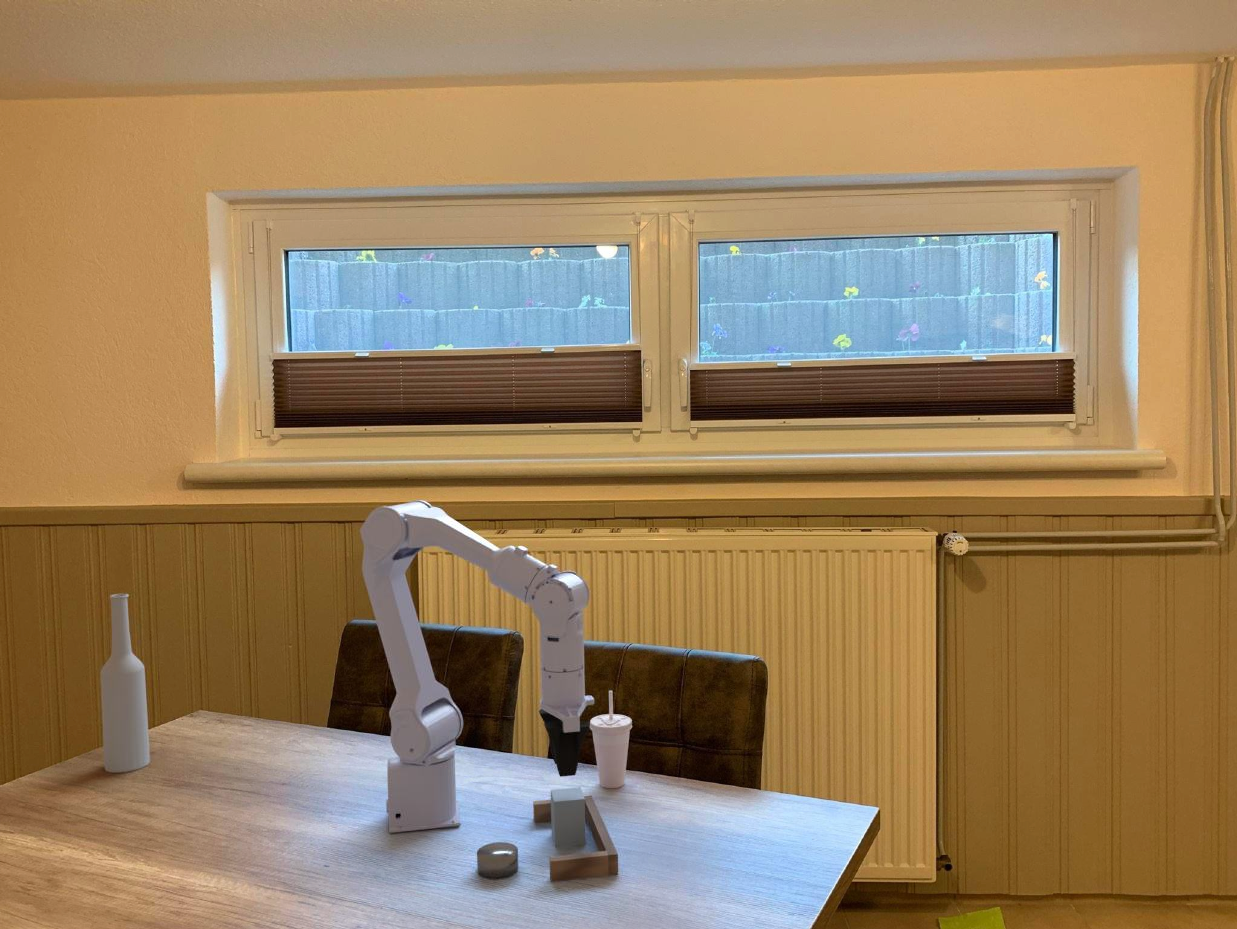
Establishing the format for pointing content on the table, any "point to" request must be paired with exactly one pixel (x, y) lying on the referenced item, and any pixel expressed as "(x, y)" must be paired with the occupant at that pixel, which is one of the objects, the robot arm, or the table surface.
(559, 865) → the walnut bay
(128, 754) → the bottle
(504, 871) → the grey puck
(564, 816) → the grey block
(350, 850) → the table surface
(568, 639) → the robot arm
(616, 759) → the smoothie
